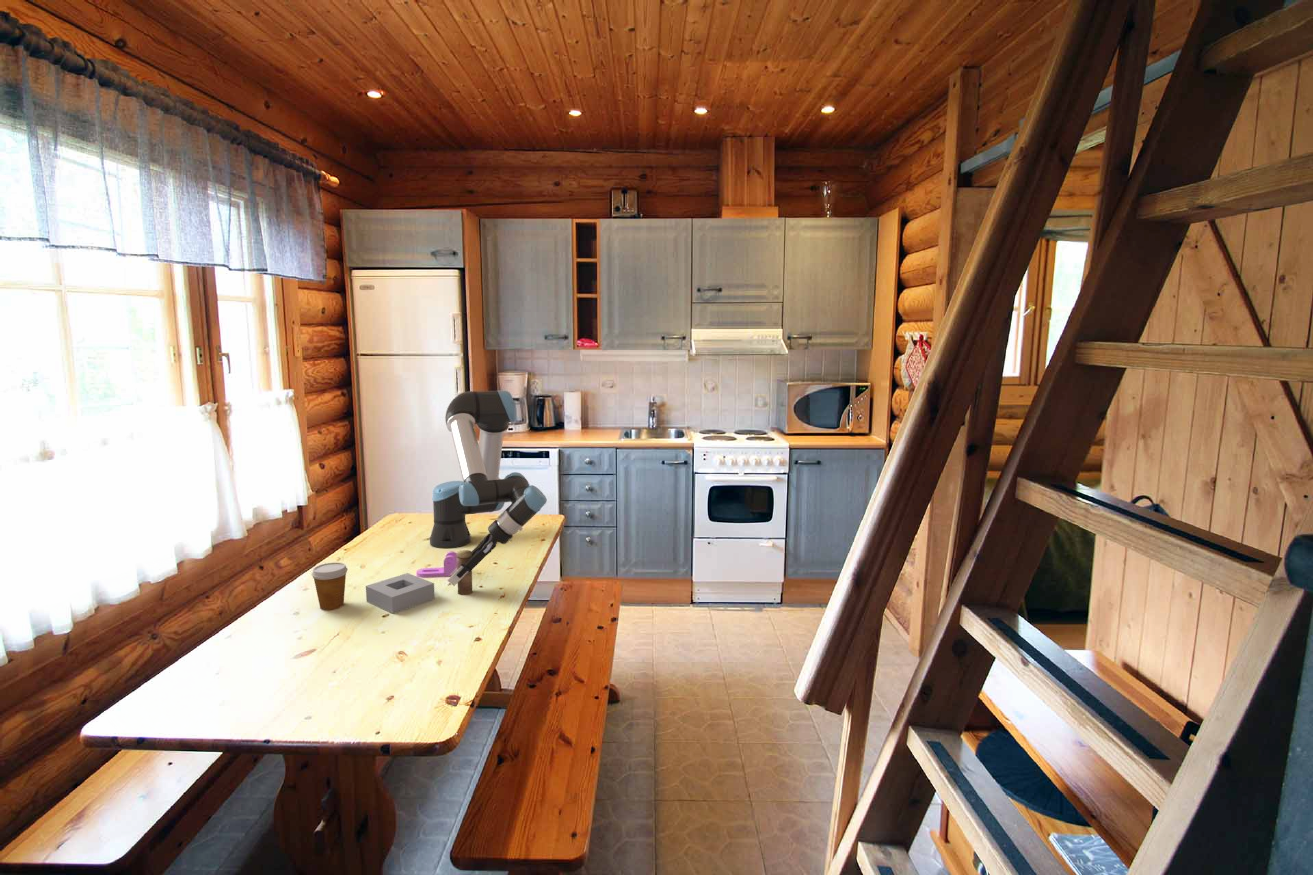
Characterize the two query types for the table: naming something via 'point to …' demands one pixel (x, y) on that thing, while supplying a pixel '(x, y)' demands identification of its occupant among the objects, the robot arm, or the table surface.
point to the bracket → (448, 568)
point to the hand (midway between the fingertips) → (452, 579)
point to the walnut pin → (466, 581)
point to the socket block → (400, 592)
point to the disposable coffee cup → (330, 584)
